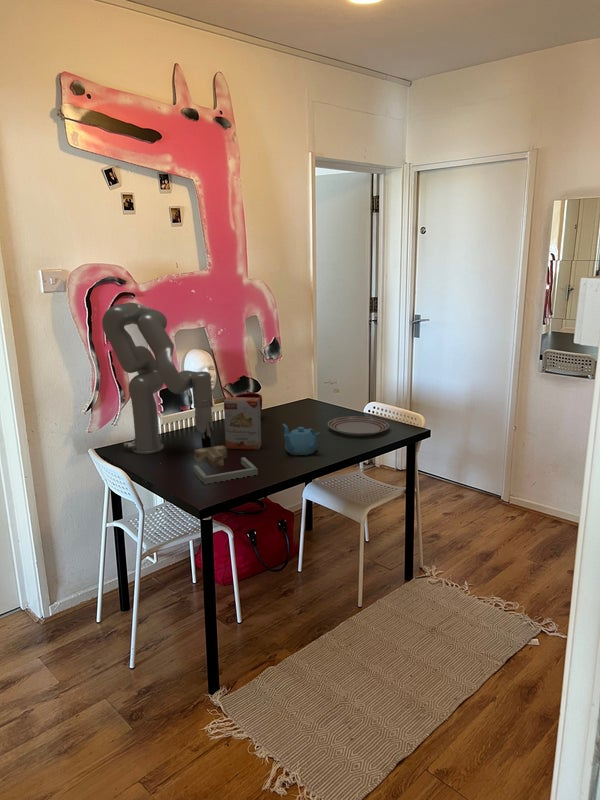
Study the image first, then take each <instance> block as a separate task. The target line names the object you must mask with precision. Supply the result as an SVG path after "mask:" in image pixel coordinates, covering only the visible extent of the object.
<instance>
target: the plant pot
mask: <svg viewBox="0 0 600 800" xmlns="http://www.w3.org/2000/svg"><path fill="white" fill-rule="evenodd" d="M234 397H244V398H260V417H261V418H262V414H261V412H262V408H263V396H262V394H261V393H257V392H244V393H240V394H239V393H238V394H237V395H235V396H234Z"/></svg>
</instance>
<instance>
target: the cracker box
mask: <svg viewBox="0 0 600 800" xmlns="http://www.w3.org/2000/svg"><path fill="white" fill-rule="evenodd" d="M223 412H224V414H223V417H224V437H225V447H226V448H227V450H231V449H232V450H251V449H252V450H253V451H254V450H255V451H256V450H257V451H259V450H260V448H261V446H262V423H261V422H262V421H261V420H262V416H261V417H260V414H261V413H260V398H244V397H235V396H227V397H226V398H225V399H224V400H223ZM252 450H251V451H252Z"/></svg>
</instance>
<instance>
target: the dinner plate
mask: <svg viewBox="0 0 600 800" xmlns="http://www.w3.org/2000/svg"><path fill="white" fill-rule="evenodd" d="M327 426H328V427H329V428H330V429H331V430H332V431H335V432H337V433H340V434H342V435H345V436H351V437H369V435H370V436H373V434H374V435H377V434H379V433H382V432H384V431H386V430H388V429H389V428H390V424H389V423H388V422H386V421H385V420H382V419H380V418H374V417H370V416H369V417H368V416H355V415H354V416H340V417H336V418H333V419H331V420H329V421H328V422H327Z"/></svg>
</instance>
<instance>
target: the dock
mask: <svg viewBox="0 0 600 800" xmlns="http://www.w3.org/2000/svg"><path fill="white" fill-rule="evenodd" d="M240 465H241V466H243V467H244V468H245V469H239V470H233V471H226V472H223V473H217V474H211V475H207V474H206V473H205V472H204V471H203V470H202V469H201V468H200V466H199V465H198V464H195V465H193V473H194V474H195V476H196V477H198V479H199V480H200V481H201V482H203V483H204V484H206V485H208V484H207V483H211V484H215V483H214V482H217V483H221V482H220V481H223V482H227V481H226V480H228V481H232V480H231V479H234V480H237V479H236V478H239V479H244V478H243V477H245V478H248V477H247V476H250V477H254V475H256V476H258V475H259V474H258V472H259V470H258V467H256V466H255V465H254V464H253V463H252V462H251V461H249V460H248V459H247V458H246V457H245V456H244V457H240ZM203 483H202V484H203ZM204 484H203V485H204Z"/></svg>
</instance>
